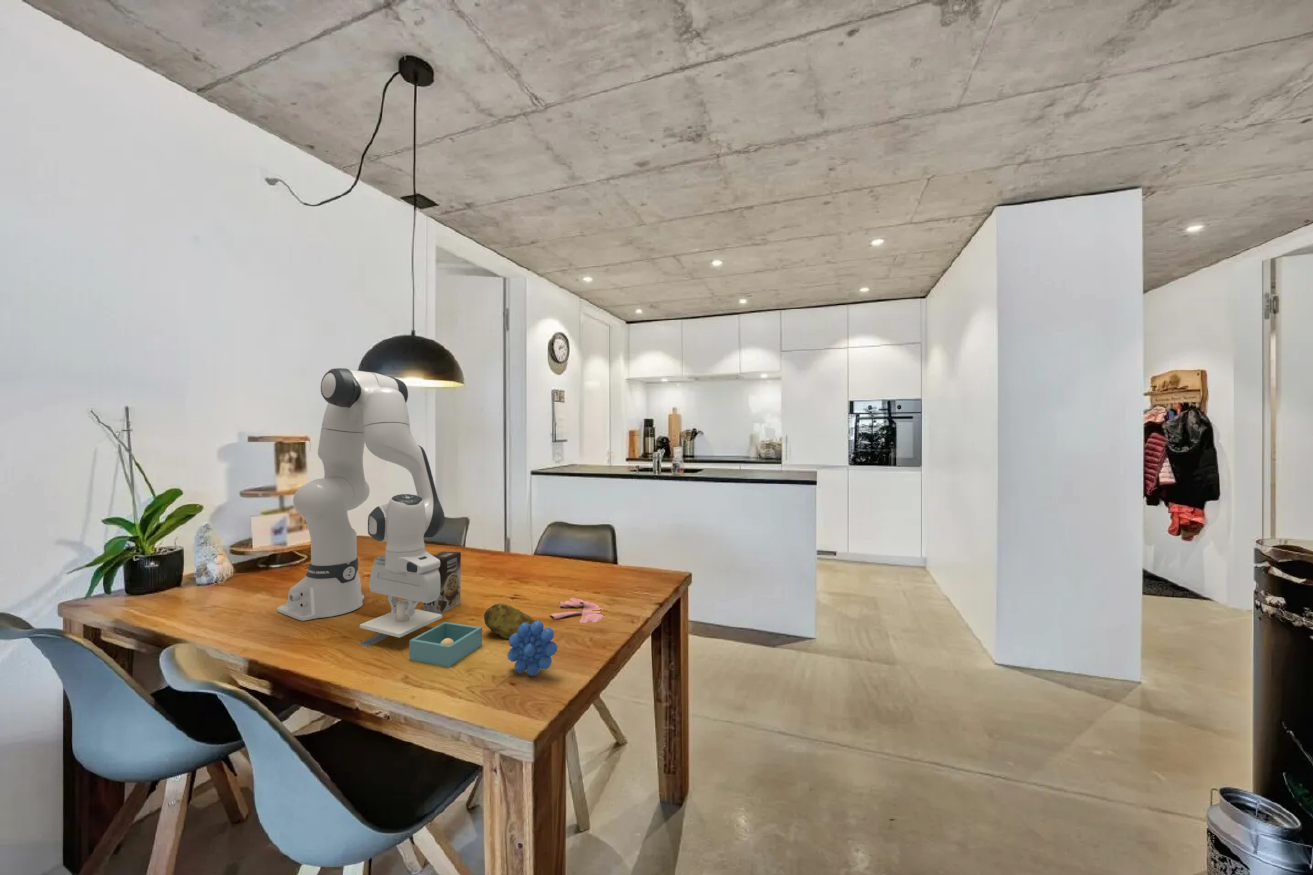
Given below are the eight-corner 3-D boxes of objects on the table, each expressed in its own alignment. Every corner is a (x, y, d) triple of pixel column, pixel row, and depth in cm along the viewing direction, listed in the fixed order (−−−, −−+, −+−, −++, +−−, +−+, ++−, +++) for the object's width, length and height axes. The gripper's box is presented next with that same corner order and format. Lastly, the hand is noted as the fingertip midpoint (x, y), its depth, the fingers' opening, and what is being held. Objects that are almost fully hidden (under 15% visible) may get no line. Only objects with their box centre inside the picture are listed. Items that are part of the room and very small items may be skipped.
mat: (357, 645, 113) (357, 644, 113) (409, 620, 128) (409, 619, 128) (409, 655, 108) (409, 653, 108) (457, 628, 124) (457, 626, 124)
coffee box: (441, 615, 132) (442, 559, 132) (422, 613, 133) (422, 557, 133) (461, 604, 141) (461, 551, 141) (442, 602, 142) (443, 550, 142)
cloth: (604, 627, 126) (604, 618, 126) (525, 626, 127) (525, 617, 127) (613, 600, 147) (613, 593, 147) (544, 599, 147) (544, 592, 147)
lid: (359, 627, 113) (360, 606, 113) (404, 609, 126) (405, 590, 126) (399, 637, 109) (400, 615, 109) (442, 617, 121) (443, 597, 121)
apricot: (436, 654, 108) (436, 640, 108) (446, 648, 111) (446, 635, 111) (447, 656, 107) (447, 642, 107) (457, 650, 110) (457, 636, 110)
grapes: (565, 669, 102) (566, 615, 102) (551, 685, 96) (551, 627, 96) (518, 662, 105) (519, 609, 105) (501, 677, 99) (501, 621, 99)
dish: (409, 662, 105) (409, 640, 105) (444, 641, 116) (444, 621, 116) (449, 669, 102) (449, 647, 102) (482, 647, 112) (482, 627, 112)
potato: (519, 648, 113) (519, 615, 112) (478, 638, 117) (478, 607, 117) (540, 634, 120) (540, 603, 120) (500, 626, 125) (501, 596, 125)
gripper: (363, 557, 118) (361, 611, 118) (425, 568, 111) (423, 625, 111) (385, 551, 124) (383, 603, 124) (445, 561, 117) (443, 616, 117)
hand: (402, 613), depth 117 cm, fingers closed on lid, 3 cm apart
